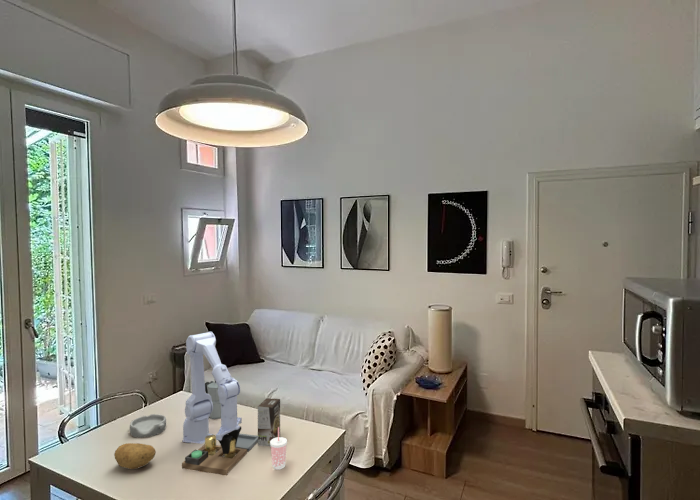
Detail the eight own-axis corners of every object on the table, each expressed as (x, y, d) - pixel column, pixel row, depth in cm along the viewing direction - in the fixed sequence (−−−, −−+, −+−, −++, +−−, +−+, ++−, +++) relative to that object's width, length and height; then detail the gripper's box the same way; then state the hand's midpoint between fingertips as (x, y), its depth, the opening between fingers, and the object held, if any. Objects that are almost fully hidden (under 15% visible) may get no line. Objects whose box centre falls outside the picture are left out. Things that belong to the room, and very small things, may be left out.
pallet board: (181, 468, 140) (181, 457, 140) (205, 448, 153) (205, 438, 153) (226, 475, 135) (226, 464, 135) (246, 454, 149) (246, 444, 149)
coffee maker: (233, 414, 184) (233, 376, 183) (218, 422, 176) (218, 382, 176) (212, 407, 191) (212, 371, 191) (197, 414, 184) (196, 376, 184)
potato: (146, 475, 136) (146, 452, 135) (108, 473, 137) (107, 451, 136) (161, 460, 145) (161, 438, 145) (125, 458, 146) (125, 437, 146)
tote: (220, 449, 153) (220, 444, 153) (234, 436, 162) (234, 432, 162) (248, 453, 150) (248, 448, 150) (260, 440, 159) (260, 436, 159)
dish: (168, 433, 166) (168, 421, 166) (131, 442, 158) (131, 430, 158) (163, 420, 178) (163, 409, 178) (128, 428, 170) (128, 417, 170)
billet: (222, 460, 145) (221, 441, 145) (228, 454, 149) (228, 436, 148) (231, 462, 144) (231, 443, 143) (237, 456, 147) (237, 438, 147)
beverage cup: (279, 459, 145) (279, 421, 145) (290, 465, 142) (290, 426, 141) (266, 466, 141) (266, 428, 141) (277, 472, 137) (277, 433, 137)
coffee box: (272, 448, 153) (272, 407, 153) (257, 446, 155) (256, 406, 154) (281, 437, 162) (280, 398, 162) (266, 435, 164) (266, 397, 163)
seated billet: (202, 457, 147) (202, 439, 147) (209, 452, 150) (209, 434, 150) (212, 459, 146) (212, 440, 146) (218, 453, 150) (218, 435, 149)
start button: (189, 461, 140) (189, 454, 140) (195, 456, 144) (195, 449, 144) (198, 462, 139) (198, 456, 139) (204, 457, 143) (204, 451, 143)
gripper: (228, 423, 138) (228, 462, 138) (248, 407, 152) (248, 441, 152) (210, 421, 140) (210, 459, 140) (232, 405, 154) (232, 439, 154)
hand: (229, 450), depth 146 cm, fingers closed on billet, 4 cm apart
